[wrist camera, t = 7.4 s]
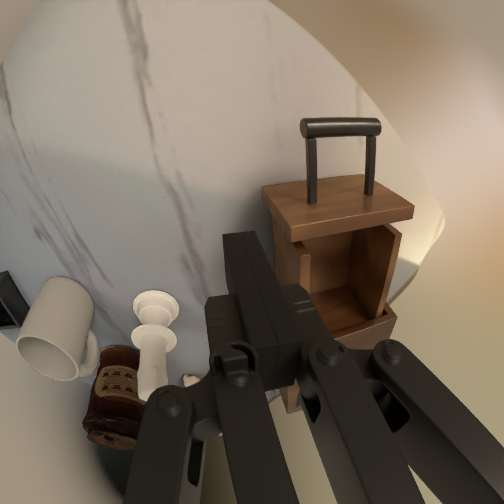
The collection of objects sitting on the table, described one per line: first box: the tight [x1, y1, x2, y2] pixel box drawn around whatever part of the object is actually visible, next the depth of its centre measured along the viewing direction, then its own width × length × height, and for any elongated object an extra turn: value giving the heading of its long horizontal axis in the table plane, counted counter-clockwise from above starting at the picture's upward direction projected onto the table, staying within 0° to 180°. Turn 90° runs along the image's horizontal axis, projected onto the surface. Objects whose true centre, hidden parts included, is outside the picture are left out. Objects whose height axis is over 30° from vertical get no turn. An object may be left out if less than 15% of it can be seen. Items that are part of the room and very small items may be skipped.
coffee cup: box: [82, 346, 146, 450], centre depth 27 cm, size 9×8×13 cm
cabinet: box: [279, 302, 397, 414], centre depth 31 cm, size 15×12×10 cm
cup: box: [15, 277, 99, 381], centre depth 23 cm, size 7×10×9 cm
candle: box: [131, 290, 179, 402], centre depth 24 cm, size 5×5×12 cm
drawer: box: [261, 117, 415, 334], centre depth 23 cm, size 20×10×8 cm, turn 6°
